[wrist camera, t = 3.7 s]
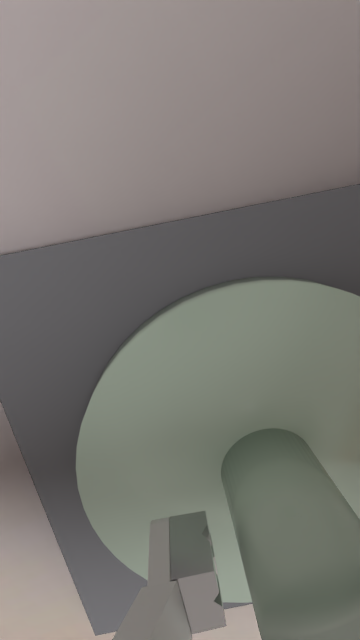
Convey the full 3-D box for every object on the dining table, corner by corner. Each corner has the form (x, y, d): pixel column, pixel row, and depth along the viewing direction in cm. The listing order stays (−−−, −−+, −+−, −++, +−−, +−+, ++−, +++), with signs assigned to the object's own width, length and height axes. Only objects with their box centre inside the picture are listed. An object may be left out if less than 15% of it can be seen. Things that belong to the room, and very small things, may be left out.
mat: (-42, 264, 9) (-54, 266, 9) (477, 161, 9) (498, 156, 9) (98, 619, 14) (95, 635, 13) (447, 547, 14) (460, 561, 13)
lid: (35, 321, 9) (-104, 424, 4) (423, 239, 9) (719, 250, 4) (131, 595, 13) (114, 828, 8) (417, 534, 13) (580, 726, 8)
